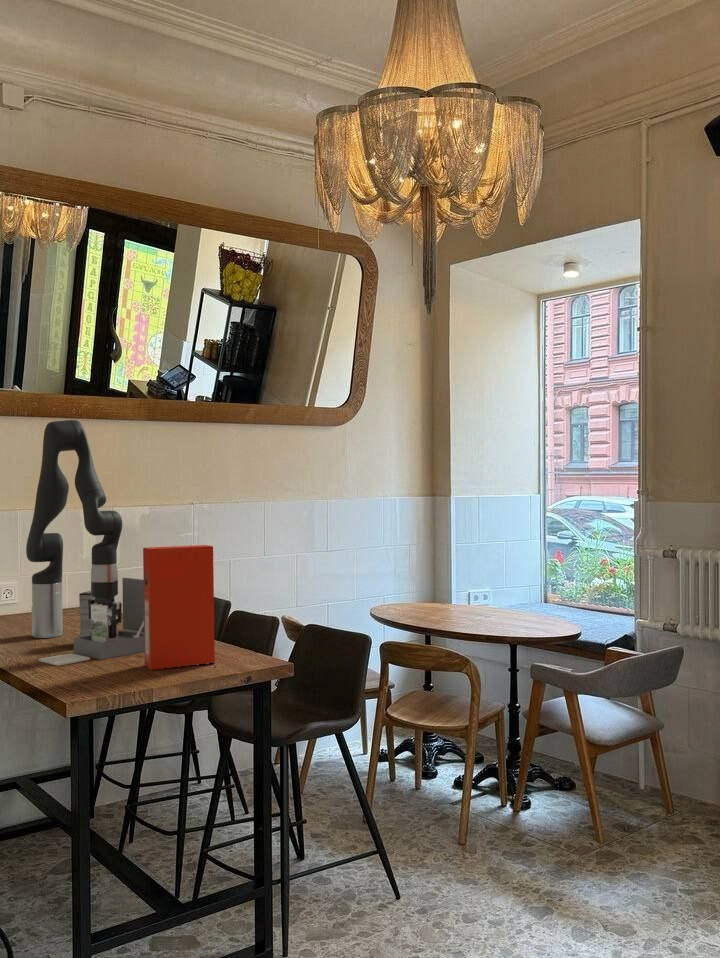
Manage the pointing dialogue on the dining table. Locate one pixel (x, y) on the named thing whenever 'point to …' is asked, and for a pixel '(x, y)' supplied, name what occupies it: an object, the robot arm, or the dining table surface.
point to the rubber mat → (64, 659)
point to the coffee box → (85, 614)
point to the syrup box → (101, 623)
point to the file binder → (178, 606)
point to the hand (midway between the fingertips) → (105, 636)
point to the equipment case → (132, 627)
